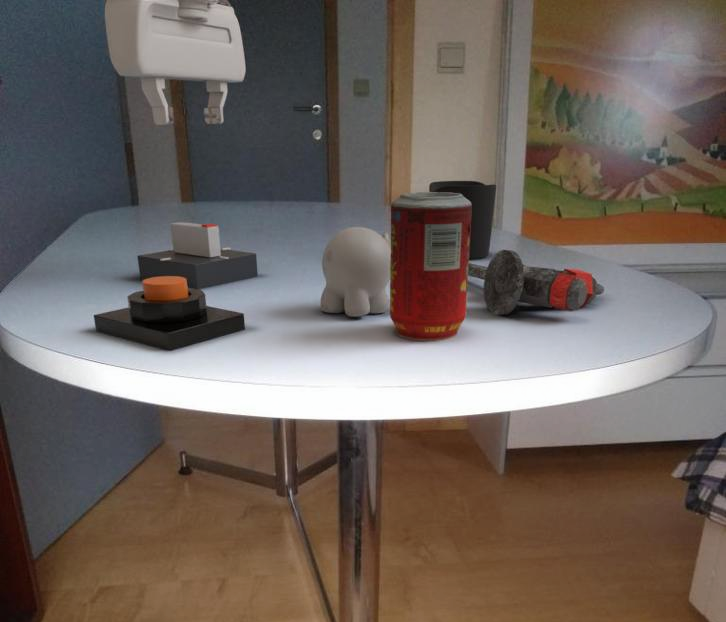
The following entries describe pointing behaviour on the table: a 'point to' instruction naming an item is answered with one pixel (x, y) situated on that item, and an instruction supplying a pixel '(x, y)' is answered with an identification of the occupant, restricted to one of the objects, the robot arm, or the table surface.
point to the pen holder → (474, 211)
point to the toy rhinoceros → (356, 272)
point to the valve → (532, 285)
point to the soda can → (429, 264)
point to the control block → (169, 321)
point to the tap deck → (200, 267)
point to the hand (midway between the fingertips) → (190, 124)
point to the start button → (165, 288)
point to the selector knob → (196, 239)
